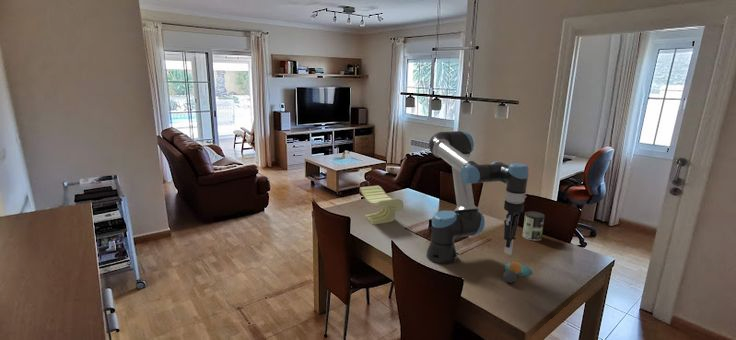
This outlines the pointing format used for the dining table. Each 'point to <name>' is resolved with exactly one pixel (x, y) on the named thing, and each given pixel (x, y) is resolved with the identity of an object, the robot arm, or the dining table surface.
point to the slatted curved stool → (381, 204)
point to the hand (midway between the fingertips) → (507, 253)
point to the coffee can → (533, 225)
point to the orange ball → (515, 267)
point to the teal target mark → (524, 271)
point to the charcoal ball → (510, 276)
